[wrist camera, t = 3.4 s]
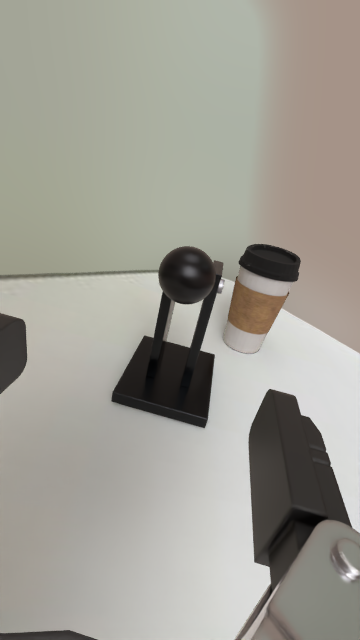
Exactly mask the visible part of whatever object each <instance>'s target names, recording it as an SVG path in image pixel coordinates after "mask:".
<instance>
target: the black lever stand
mask: <svg viewBox="0 0 360 640" xmlns="http://www.w3.org/2000/svg"><path fill="white" fill-rule="evenodd" d="M213 264H214V267H215V272H216V278H215V283H214V286H213V288H212V290H211V292H210V293H209V294H208V295H207V296H206V297H205V298H204V299H203V303H202V307H201V310H200V314H199V318H198V321H197V325H196V329H195V332H194V336H193V340H192V343H191V347H190V348H188V347H185V346H181V345H177V344H174V343H170V342H166V341H167V336H168V332H169V327H170V323H171V319H172V314H173V310H174V305H175V301H173V300H171V299H170V298H169V297H168V296H167V295H166V294H165V293H164V292H163V293H162V298H161V303H160V308H159V313H158V318H157V323H156V328H155V333H154V338H152V337H148V336H144V337H143V339H142V341H141V343H140V344H139V346H138V348H137V350H136V351H135V353H134V355H133V357H132V359H131V360H130V362H129V364H128V366H127V368H126V369H125V371H124V373H123V375H122V376H121V378H120V380H119V382H118V384H117V385H116V387H115V389H114V391H113V393H112V402H116V403H119V404H123V405H126V406H129V407H133V408H136V409H140V410H143V411H147V412H150V413H154V414H157V415H161V416H164V417H168V418H171V419H175V420H178V421H182V422H185V423H189V424H192V425H196V426H199V427H203V428H205V426H206V423H207V420H208V412H209V403H210V394H211V385H212V376H213V367H214V358H215V355H214V354H210V353H207V352H203V351H200V349H201V345H202V342H203V338H204V335H205V331H206V328H207V325H208V321H209V318H210V314H211V311H212V307H213V304H214V301H215V297H216V294H217V293H220V294H221V292H222V289H223V285H224V280H222V279H221V277H222V270H223V263H222V262H219V261H214V263H213Z"/></svg>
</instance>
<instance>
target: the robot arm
mask: <svg viewBox="0 0 360 640" xmlns="http://www.w3.org/2000/svg"><path fill="white" fill-rule="evenodd" d="M26 362H27V345H26V325H25V322H24V321H23V320H22V319H19V318H16V317H12V316H9V315H5V314H1V313H0V394H1V393H2V392H3V391H4V390H5V389H6V388H7V387H8V386H9V385H10V384H12V383H13V382H14V381H15V380H16V379H17V378H18V377H19V376H20V375H21V373H22V372H23V370H24V368H25V366H26ZM249 463H250V483H251V503H252V523H253V543H254V562H255V563H259V564H262V565H265V566H268V567H270V577H271V584H270V585H269V586H268V588H267V589H266V591H265V592H264V594H263V595H262V597H261V598H260V600H259V602H258V603H257V605H256V606H255V608H254V609H253V611H252V612H251V614H250V616H249V617H248V619H247V620H246V622H245V623H244V625H243V627H242V628H241V630H240V631H239V633H238V634H237V636H236V637H235V639H234V640H360V533H358V532H357V531H356V530H355V529H353V528H352V526H351V523H350V520H349V517H348V514H347V511H346V508H345V505H344V502H343V499H342V496H341V493H340V490H339V487H338V484H337V481H336V478H335V475H334V472H333V469H332V467H330V464H331V463H330V460H329V456H328V453H326V447H325V444H324V441H323V438H322V435H321V433H320V431H319V430H318V429H317V427H316V426H315V425H314V423H313V422H312V420H311V419H310V418H309V417H306V416H302V415H301V413H300V410H299V406H298V402H297V399H296V397H295V396H294V395H290V394H286V393H283V392H279V391H276V390H272V389H269V390H268V391H267V393H266V395H265V397H264V399H263V401H262V403H261V406H260V408H259V410H258V412H257V414H256V416H255V419H254V421H253V423H252V426H251V429H250V434H249ZM0 640H97V639H94V638H91V637H88V636H85V635H82V634H79V633H76V632H73V631H70V630H64V631H44V632H24V633H0Z"/></svg>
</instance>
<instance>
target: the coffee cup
mask: <svg viewBox="0 0 360 640" xmlns="http://www.w3.org/2000/svg"><path fill="white" fill-rule="evenodd" d="M300 262H301V261H300V258H299V257H298V256H297V255H296V254H294V253H292V252H290V251H287V250H285V249H282V248H279V247H275V246H271V245H265V244H254V245H250V246H248V247H247V249H246V251H245V253H244V255H243V256H241V258H240V260H239V264H240V265H241V266H240V270H239V275H238V276H237V277H236V281H235V286H234V290H233V295H232V300H231V305H230V309H229V314H228V320H227V324H226V328H225V332H224V337H223V339H224V342H225V343H226V344H227V345H228V346H229V347H231V348H232V349H234V350H236V351H239V352H242V353H255V352H257V351H258V350H259V349H260V347H261V345H262V343H263V341H264V339H265V337H266V335H267V333H268V332H269V330H270V328H271V326H272V324H273V322H274V320H275V319H276V317H277V315H278V313H279V311H280V309H281V307H282V305H283V304H284V302H285V300H286V298H287V296H288V294H289V289H290V287H291V285H292V283H293V282H294V281H297V280H298V276H299V272H298V269H299V266H300Z"/></svg>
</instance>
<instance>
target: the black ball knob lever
mask: <svg viewBox="0 0 360 640" xmlns="http://www.w3.org/2000/svg"><path fill="white" fill-rule="evenodd" d="M158 276H159V283H160V286H161V288H162V290H163V292H164V293H165V294H166V295H167V296H168V297H169V298H170V299H171V300H173V301H175V302H177V303H181V304H193V303H197V302H199V301H201V300H203V299H204V298H205V297H206V296H207V295H208V294H209V293H210V292H211V290H212V288H213V286H214V283H215V278H216V272H215V267H214V264H213V262H212V260H211V259H210V257H209V256H208V255H207V254H206V253H205V252H203V251H202V250H200V249H198V248H195V247H189V246H185V247H179V248H177V249H174V250H173V251H171V252H170V253H168V254H167V255H166V257H165V258H164V259H163V261H162V263H161V265H160V268H159V275H158Z"/></svg>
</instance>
